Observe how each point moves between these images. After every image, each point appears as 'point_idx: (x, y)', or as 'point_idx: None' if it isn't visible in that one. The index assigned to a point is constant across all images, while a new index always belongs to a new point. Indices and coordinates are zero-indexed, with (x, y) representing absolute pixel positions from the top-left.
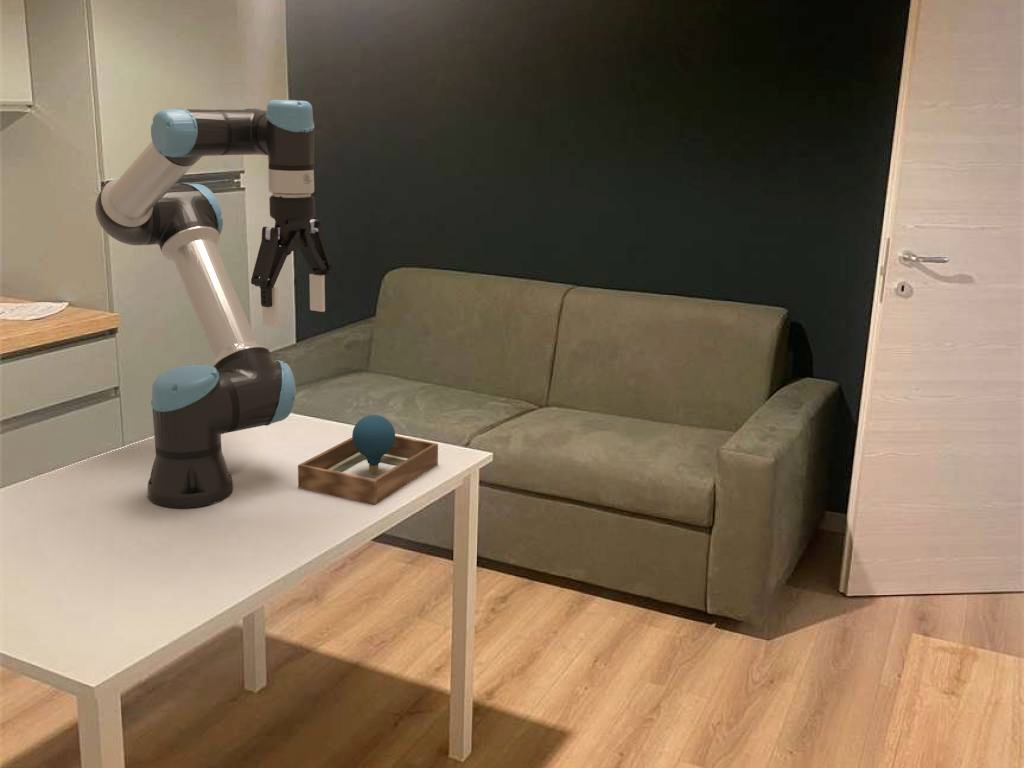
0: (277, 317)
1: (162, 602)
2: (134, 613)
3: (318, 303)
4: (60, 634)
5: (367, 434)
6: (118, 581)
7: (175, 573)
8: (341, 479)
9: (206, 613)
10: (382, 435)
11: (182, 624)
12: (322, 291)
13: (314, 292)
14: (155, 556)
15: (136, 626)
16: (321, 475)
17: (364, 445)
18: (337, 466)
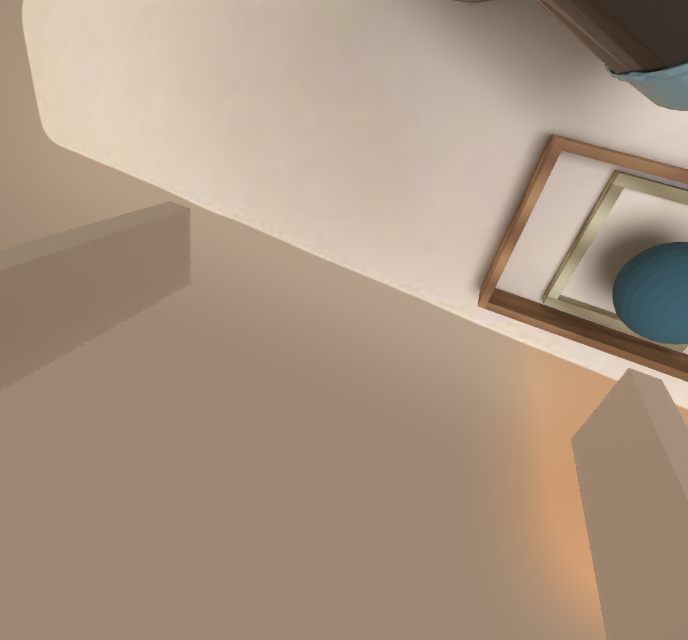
0: (154, 298)
1: (151, 116)
2: (123, 98)
3: (597, 458)
4: (62, 41)
5: (623, 295)
6: (159, 20)
7: (204, 89)
8: (506, 241)
9: (157, 178)
10: (626, 324)
11: (133, 164)
12: (598, 569)
13: (641, 507)
14: (229, 24)
15: (109, 117)
16: (527, 197)
17: (616, 279)
18: (651, 192)
